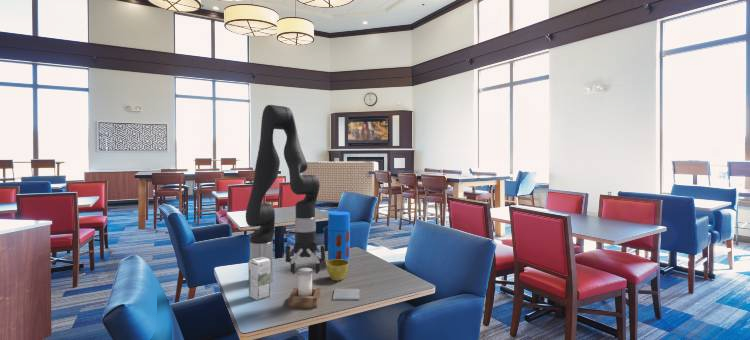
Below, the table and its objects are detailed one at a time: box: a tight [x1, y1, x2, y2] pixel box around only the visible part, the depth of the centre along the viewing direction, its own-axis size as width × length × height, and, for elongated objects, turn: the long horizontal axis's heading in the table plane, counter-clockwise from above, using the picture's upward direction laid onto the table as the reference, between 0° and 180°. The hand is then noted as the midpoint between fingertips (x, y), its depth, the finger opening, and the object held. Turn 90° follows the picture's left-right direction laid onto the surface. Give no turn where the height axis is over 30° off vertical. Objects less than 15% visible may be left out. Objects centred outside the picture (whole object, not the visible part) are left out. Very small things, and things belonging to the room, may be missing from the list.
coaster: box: [332, 288, 361, 301], centre depth 147 cm, size 10×10×1 cm
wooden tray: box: [288, 287, 321, 309], centre depth 139 cm, size 10×10×4 cm
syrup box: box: [248, 257, 271, 301], centre depth 144 cm, size 6×6×14 cm
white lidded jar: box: [297, 267, 313, 296], centre depth 139 cm, size 5×5×12 cm
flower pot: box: [325, 259, 350, 281], centre depth 166 cm, size 10×10×7 cm
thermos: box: [327, 211, 351, 263], centre depth 189 cm, size 11×11×25 cm
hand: (305, 273), depth 139 cm, fingers open, 8 cm apart
